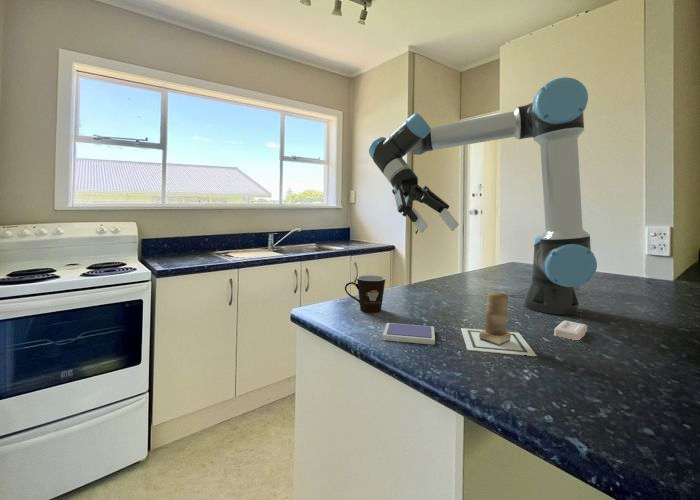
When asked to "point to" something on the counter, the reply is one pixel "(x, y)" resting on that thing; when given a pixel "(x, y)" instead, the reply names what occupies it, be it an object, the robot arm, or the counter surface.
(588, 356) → the counter surface
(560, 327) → the soap bar
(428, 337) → the ink pad
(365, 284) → the coffee mug
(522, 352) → the sheet
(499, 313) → the stamp
